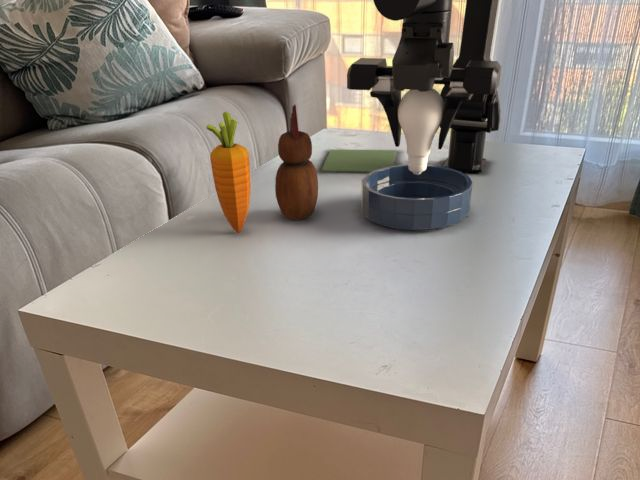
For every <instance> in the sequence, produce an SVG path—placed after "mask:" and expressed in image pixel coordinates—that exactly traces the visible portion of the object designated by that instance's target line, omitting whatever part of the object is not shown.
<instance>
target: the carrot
mask: <svg viewBox="0 0 640 480" xmlns="http://www.w3.org/2000/svg"><path fill="white" fill-rule="evenodd" d="M222 118H223V121H221V122H219V123H218V126H219V129H220V130H219V129H218V128H217V127H216V126H215V125H212V124H210V123H208V124H207V125H206V127H205V129H206V130H207V131H210V132H212V133H213V134H214V135H215V137H216V138H217V139H218V140H219V142H220V143H221V144H218V145H217V146H215V147H214V148H213V149H212V150H211V152H210V157H209V159H210V160H209V161H210V165H211V172H212V178H213V183H214V189H215V192H216V195H217V199H218V202H219V204H220V208H221V211H222V213H223V215H224V217H225V219H226V220H227V222H228V224H229V225H230V227H231V228H232V230H233V231H234V232H235V233H237V234H239V233H241V232H242V230H243V228H244V225H245V223H246V221H247V218H248V217H247V216H248V213H249V210H250V201H251V188H252V187H251V186H252V185H251V165H250V155H249V150H248V149H247V148H246V147H245V146H243V145H241V144H239V143H235V140H234V139H235V134H236V130H237V125H238V121H237V120H236V119H235V118H232V115H231V113H230V112H229V111H224V112H222Z"/></svg>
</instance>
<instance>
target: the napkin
mask: <svg viewBox="0 0 640 480" xmlns="http://www.w3.org/2000/svg"><path fill="white" fill-rule="evenodd" d="M396 155H397V150H395V149H394V150H393V149H392V150H391V149H390V150H389V149H388V150H387V149H386V150H385V149H384V150H382V149H381V150H380V149H330V150H329V152H328V155H327V157H326V159H325V162H324V164H323V167H322V169H321V172H322V173H367V174H368V173H370V172H372V171H374V170H378V169H381V168H385V167H389V166H395V161H396Z"/></svg>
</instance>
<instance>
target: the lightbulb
mask: <svg viewBox="0 0 640 480" xmlns="http://www.w3.org/2000/svg"><path fill="white" fill-rule="evenodd" d="M440 94H441V93H439V91H438V90H436V89H435V88H434V87H433V88H432V89H431V90H429V91H425V92H420V91H419V90H410V89H408V90H407V91H406V92H405V93H404V94H403V96H401V101H400V103H399V106H398V120H399V123H400V126H401V131H402V132H403V135H404V138H405V143H406V155H407V156H408V157H407V158H408V159H407V165H408V169H409V170H410V171H411V172H413V174H416V175H418V174H421V172H423V171H425V170H426V168H427V165H428V159H429V155H431V149H432V144H433V140H434V138H435V136H436V134H437V132H438V130H440V125H441V123H442V119H443V114H444V109H445V106H444V101H443V99H442V97H441V95H440Z"/></svg>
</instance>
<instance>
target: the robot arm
mask: <svg viewBox="0 0 640 480" xmlns="http://www.w3.org/2000/svg"><path fill="white" fill-rule="evenodd" d="M373 4H374V6H375V8H376V10H377V12H378V13H379V14H380V15H381V16H382V17H383V18H385V19H387V20H390V21H396V22H398V21H402V25H401V26H402V27H401V33H400V34H401V35H400V39H399V42H398V44H397V48H396V50H395V53H394V55H393V58H392V61H391V65H388V63H387V59H386V58H385V57H384V58H383V57H382V58H378V57H377V58H376V57H360V58H358V59H357V60H355V61H354V62H353V63H351V65H350V66H349V67H348V68H347V73H346V89H347V90H351V91H353V90H355V91H370V90H371V91H370V92H369V95H370V97H371V98H375V99H377V100H378V102H379V103H380V104H381V105H382V108H383V109H384V113H385V115H386V118H387V121H388V125H389V128H390V132H391V136H392V139H393V142H394V147H396V148H399V147H400V146H401V138H402V128H401V126H400V123H399V120H398V106H399V103H400V101H401V99H402V92H403V91H405V90H419V91H420V92H425V91H429V90H431V89H432V88H433V89H434V85H443V87H442V88H441V91H440V93H439V94H440V95H441V97H442V99H443V101H444V106H445V109H444V114H443V119H442V123H441V125H440V127H439V134H438V144H437V145H438V146H437V150H442V149H443V146H444V144H445V142H446V139H447V137H448V134H449V131H450V135H449V146H448V157H447V158H446V159H445V160H446V161H445V162H444V164H443V165H442V167H447V168H451V169H454V170H457V171H460V172H463V173H464V172H465V173H483V171H484V168H485V165H486V163H487V159H486V158H484V152H485V145H486V144H485V143H486V136H487V133H488V134H490V133H492V132H496V131H497V132H498V131H499V130H500V124H501V123H500V122H501V113H502V112H501V106H500V104H501V103H500V99H499V91H498V89H499V86H500V81H501V73H502V66H501V64H500V63H499V61H498V60H492V59H491V51H492V46H493V39H494V32H495V26H496V20H497V19H496V18H497V13H498V6H499V0H466V1H465V9H464V17H463V23H462V24H463V25H462V32H461V40H460V45H459V46H460V47H459V54H458V57H457V58H456V60H455V59H454V58H455V48H454V42H450V35H451V33H450V32H451V23H452V12H453V11H452V10H453V0H373ZM454 60H455V61H454Z"/></svg>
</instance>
